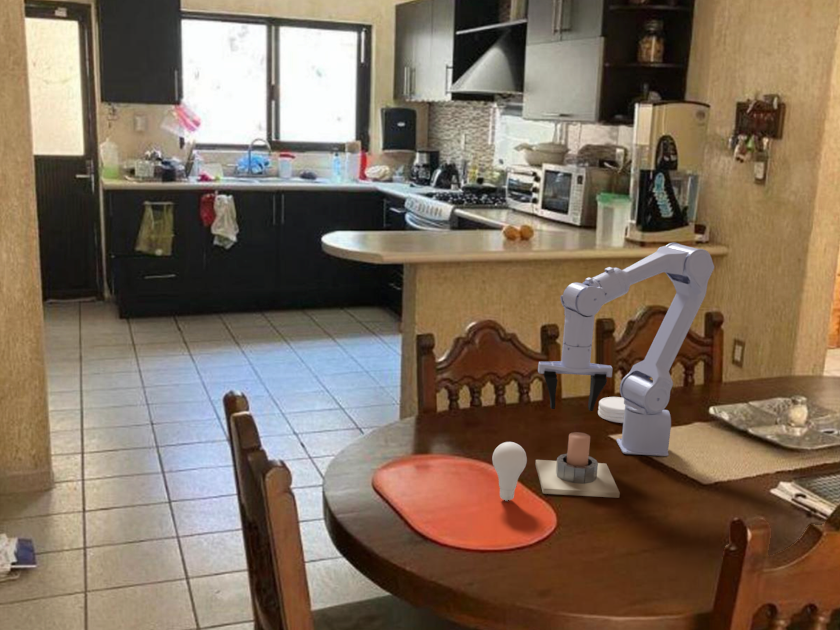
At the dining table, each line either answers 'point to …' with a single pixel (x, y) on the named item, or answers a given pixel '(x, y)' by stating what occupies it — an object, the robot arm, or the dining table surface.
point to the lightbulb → (508, 467)
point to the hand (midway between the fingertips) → (571, 408)
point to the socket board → (576, 478)
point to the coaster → (612, 409)
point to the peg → (578, 449)
